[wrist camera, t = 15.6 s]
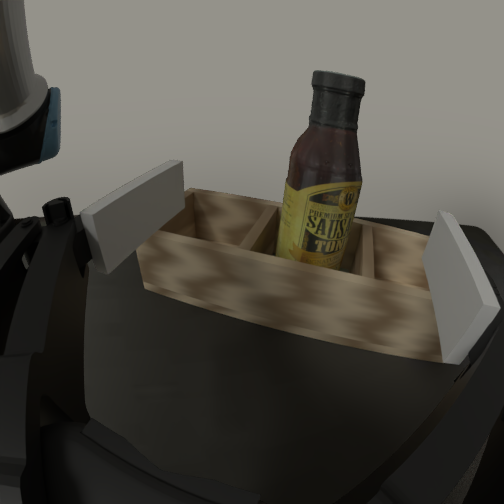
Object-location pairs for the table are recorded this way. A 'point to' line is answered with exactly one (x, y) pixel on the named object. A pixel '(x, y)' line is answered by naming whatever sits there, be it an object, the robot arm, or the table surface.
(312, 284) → the wooden compartment box
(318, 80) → the sauce bottle
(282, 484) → the table surface
